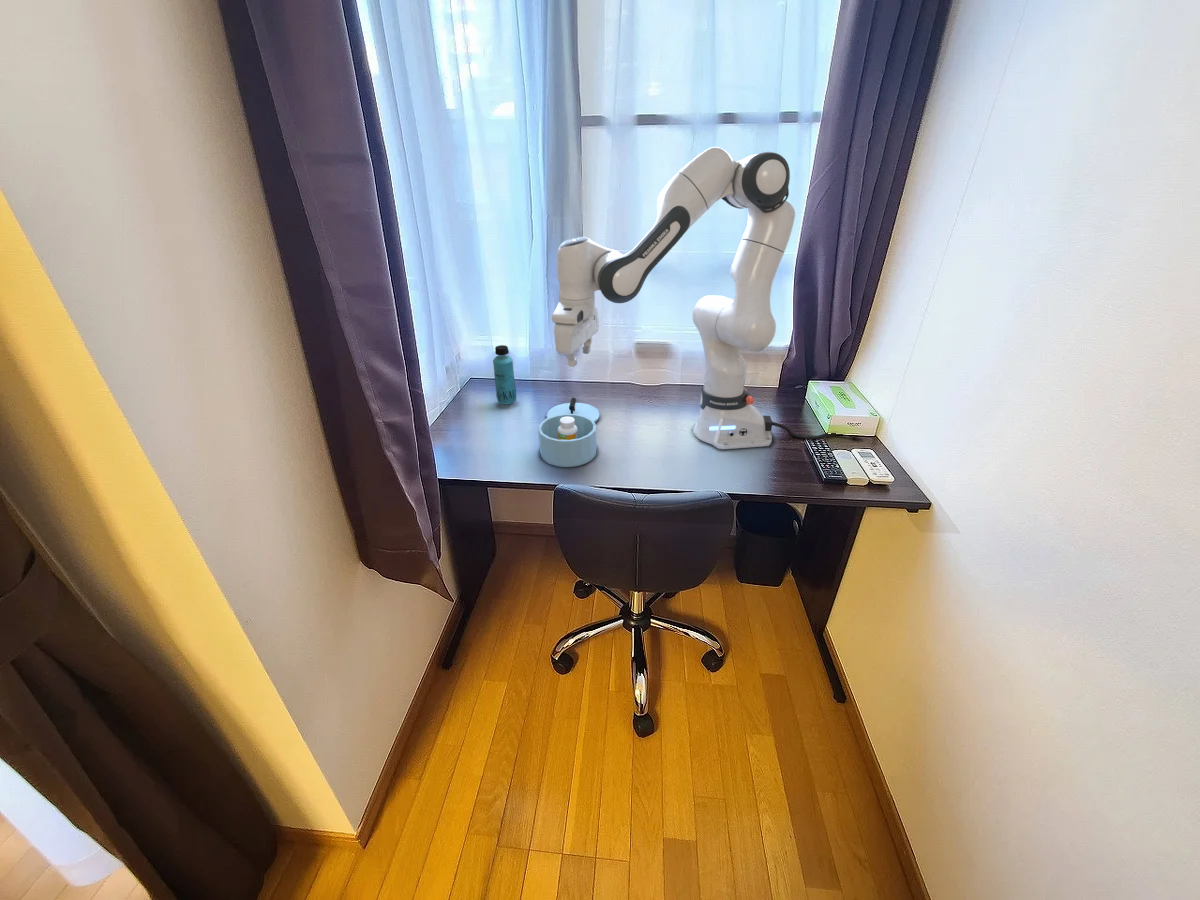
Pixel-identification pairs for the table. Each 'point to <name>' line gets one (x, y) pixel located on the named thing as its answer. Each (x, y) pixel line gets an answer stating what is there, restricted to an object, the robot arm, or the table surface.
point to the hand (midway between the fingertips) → (579, 359)
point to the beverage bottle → (504, 376)
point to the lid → (575, 410)
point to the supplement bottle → (567, 429)
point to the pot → (567, 442)
